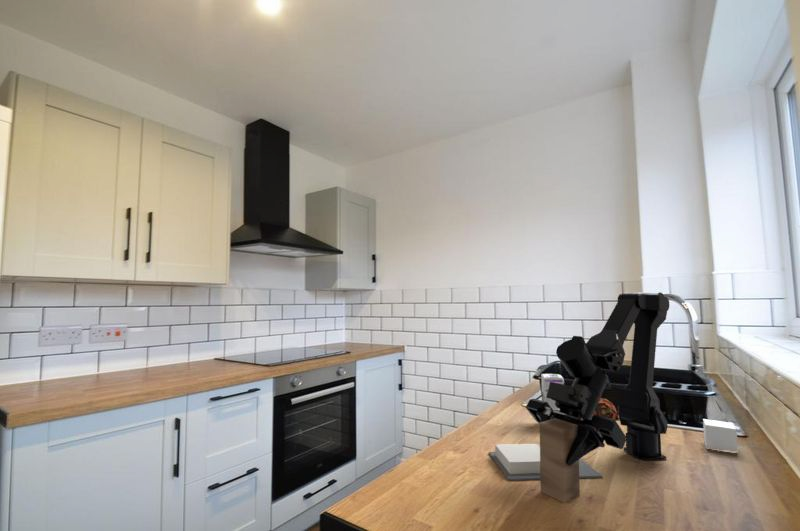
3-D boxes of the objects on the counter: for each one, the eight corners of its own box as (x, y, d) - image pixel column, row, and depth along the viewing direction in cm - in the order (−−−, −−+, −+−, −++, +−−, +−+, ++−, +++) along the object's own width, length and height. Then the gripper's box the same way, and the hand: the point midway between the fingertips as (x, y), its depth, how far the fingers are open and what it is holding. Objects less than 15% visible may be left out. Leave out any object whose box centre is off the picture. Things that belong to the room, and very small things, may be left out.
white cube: (704, 442, 103) (702, 418, 104) (734, 447, 100) (732, 422, 101) (706, 449, 98) (705, 424, 99) (738, 455, 95) (736, 429, 95)
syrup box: (566, 429, 112) (565, 377, 114) (544, 428, 114) (543, 376, 115) (562, 423, 118) (561, 373, 119) (541, 422, 119) (540, 373, 120)
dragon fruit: (613, 439, 110) (588, 431, 121) (633, 419, 112) (607, 413, 123) (593, 413, 111) (570, 407, 122) (613, 393, 113) (589, 390, 124)
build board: (569, 451, 97) (569, 439, 97) (602, 477, 83) (602, 463, 83) (488, 453, 95) (488, 441, 95) (508, 480, 81) (508, 466, 81)
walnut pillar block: (556, 484, 79) (555, 418, 80) (579, 495, 75) (578, 425, 76) (540, 491, 77) (539, 422, 77) (563, 503, 72) (562, 430, 73)
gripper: (530, 360, 88) (496, 420, 81) (615, 374, 72) (582, 450, 65) (553, 392, 91) (522, 452, 84) (638, 412, 76) (609, 487, 69)
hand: (554, 459), depth 76 cm, fingers closed on walnut pillar block, 5 cm apart
